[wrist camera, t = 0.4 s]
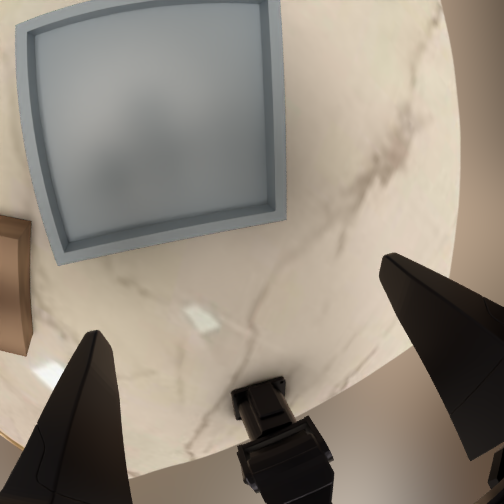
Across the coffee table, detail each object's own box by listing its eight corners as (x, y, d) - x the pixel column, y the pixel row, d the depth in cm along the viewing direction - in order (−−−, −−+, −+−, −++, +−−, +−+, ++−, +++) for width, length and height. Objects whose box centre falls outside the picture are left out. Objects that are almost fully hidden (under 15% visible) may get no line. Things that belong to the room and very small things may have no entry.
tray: (272, 207, 24) (286, 220, 22) (64, 248, 19) (57, 266, 17) (264, -2, 16) (279, -12, 14) (28, 31, 12) (15, 25, 9)
